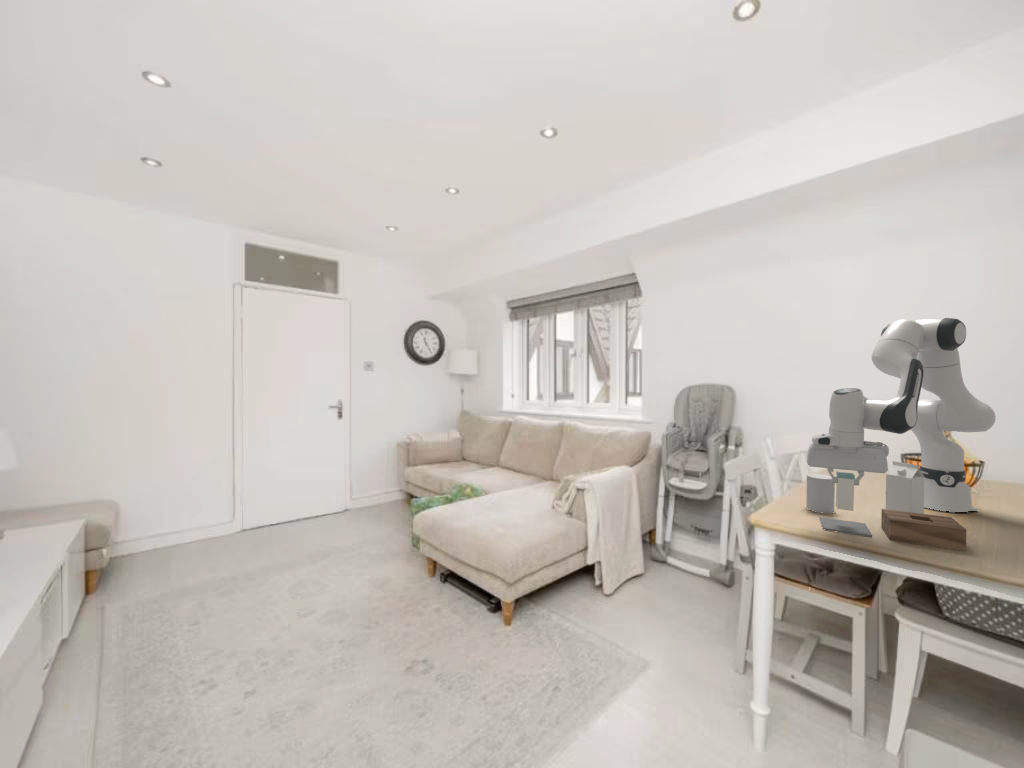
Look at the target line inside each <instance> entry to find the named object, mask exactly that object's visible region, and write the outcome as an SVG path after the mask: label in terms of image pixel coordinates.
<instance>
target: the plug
mask: <svg viewBox="0 0 1024 768" xmlns="http://www.w3.org/2000/svg"><path fill="white" fill-rule="evenodd" d="M835 477H837V478H838V480H837V481H838V483H835V485H836V489H835V490H836V491H835V507H836V509H837V510H842V511H849V512H854V504H855V503H854V501H855V500H854V499H855V498H854V497H855V485H854V480H855V479H856V475H855V474H854V473H853V472H845V471H836V473H835Z"/></svg>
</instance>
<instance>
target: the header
mask: <svg viewBox="0 0 1024 768" xmlns="http://www.w3.org/2000/svg"><path fill="white" fill-rule="evenodd" d="M880 517H881V523H880V524H881V525H880V527H881V530H882V531H883V532H884V534H885V535H886V537H887V538H888V540H889V541H897V542H901V543H902V542H903V543H907V544H908V543H909V544H916V545H922V546H927V545H928V546H929V547H935V548H942V549H948V550H953V551H954V550H956V551H963V552H967V529H966V528H965V527H964V526H962V524H960V523H959V522H958V521H957V520H956V519H954V518H953V517H952V516H947V515H945V516H943V515H937V514H936V515H935V514H930V513H924V514H921V513H913V512H905V511H897V510H889V509H886V508H881V516H880Z"/></svg>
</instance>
